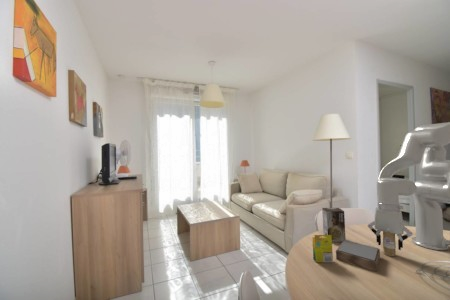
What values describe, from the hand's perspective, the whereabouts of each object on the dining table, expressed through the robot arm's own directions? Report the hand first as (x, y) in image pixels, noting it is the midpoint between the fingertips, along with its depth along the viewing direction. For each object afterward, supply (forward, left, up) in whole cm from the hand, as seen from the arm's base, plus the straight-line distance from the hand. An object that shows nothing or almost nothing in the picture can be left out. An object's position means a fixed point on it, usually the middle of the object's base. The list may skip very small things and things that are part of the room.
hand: (389, 246), depth 89 cm
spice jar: (0, 0, -4) cm, 4 cm away
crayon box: (+21, +25, -4) cm, 33 cm away
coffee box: (+23, -1, -4) cm, 23 cm away
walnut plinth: (+10, +13, -4) cm, 17 cm away
